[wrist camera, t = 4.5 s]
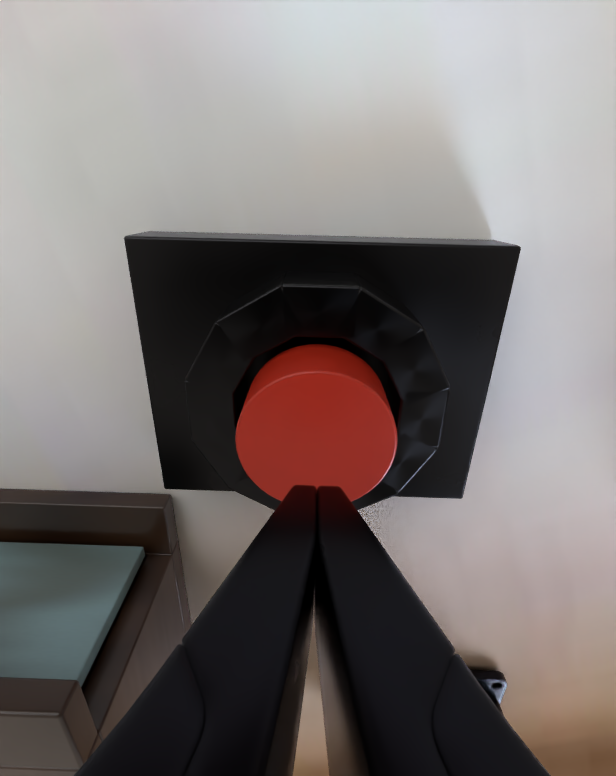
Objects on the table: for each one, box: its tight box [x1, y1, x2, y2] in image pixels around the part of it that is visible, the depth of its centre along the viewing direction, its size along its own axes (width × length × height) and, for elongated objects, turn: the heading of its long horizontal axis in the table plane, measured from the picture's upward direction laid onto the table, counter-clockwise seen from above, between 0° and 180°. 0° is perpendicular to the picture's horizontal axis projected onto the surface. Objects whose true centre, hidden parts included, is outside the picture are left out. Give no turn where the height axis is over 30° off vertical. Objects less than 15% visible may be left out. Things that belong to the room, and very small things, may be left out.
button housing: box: [124, 231, 521, 510], centre depth 12 cm, size 10×8×4 cm
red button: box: [235, 344, 397, 502], centre depth 10 cm, size 4×4×2 cm
